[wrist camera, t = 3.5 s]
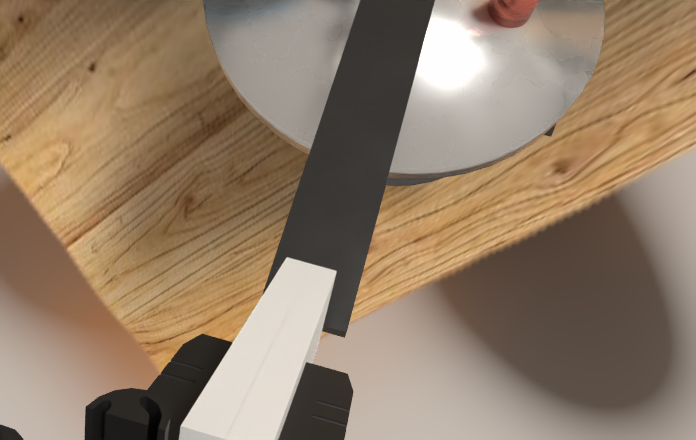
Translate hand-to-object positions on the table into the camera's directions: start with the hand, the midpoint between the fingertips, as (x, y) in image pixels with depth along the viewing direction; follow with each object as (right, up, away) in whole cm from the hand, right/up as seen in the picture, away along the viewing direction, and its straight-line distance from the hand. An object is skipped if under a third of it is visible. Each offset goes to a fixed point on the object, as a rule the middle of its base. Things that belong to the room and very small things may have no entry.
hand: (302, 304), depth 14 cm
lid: (+3, +10, +9) cm, 14 cm away
